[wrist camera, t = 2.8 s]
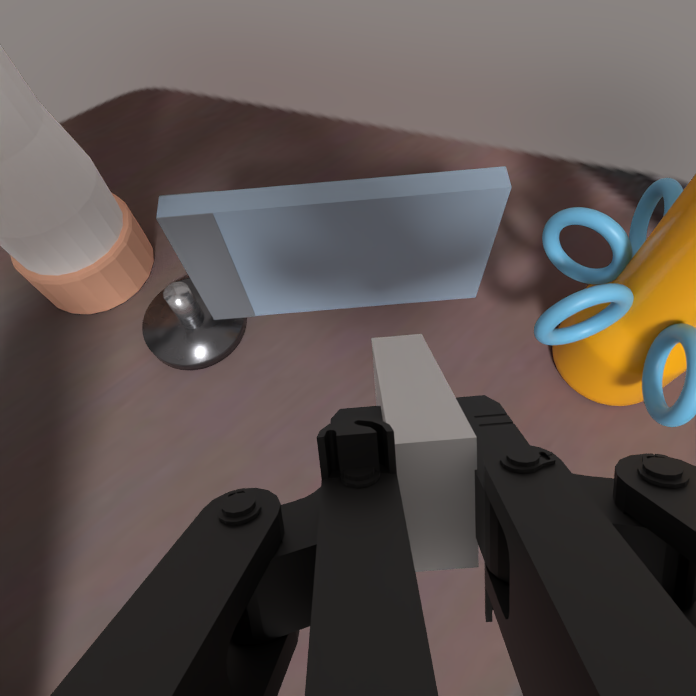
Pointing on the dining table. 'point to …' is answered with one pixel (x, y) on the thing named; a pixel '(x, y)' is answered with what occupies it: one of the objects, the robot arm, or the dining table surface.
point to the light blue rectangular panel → (337, 241)
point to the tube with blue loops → (630, 306)
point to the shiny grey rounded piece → (188, 329)
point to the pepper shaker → (62, 210)
